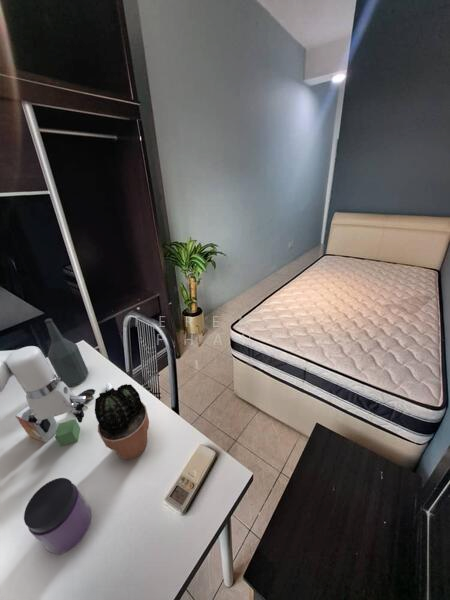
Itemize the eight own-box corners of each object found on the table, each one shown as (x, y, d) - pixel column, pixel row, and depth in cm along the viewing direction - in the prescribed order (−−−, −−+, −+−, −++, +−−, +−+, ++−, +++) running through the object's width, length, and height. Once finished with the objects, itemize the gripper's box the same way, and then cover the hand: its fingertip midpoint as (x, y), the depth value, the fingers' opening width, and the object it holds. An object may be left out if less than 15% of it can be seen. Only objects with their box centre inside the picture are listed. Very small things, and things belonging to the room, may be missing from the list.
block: (60, 446, 79) (54, 437, 77) (64, 432, 83) (58, 423, 81) (77, 441, 80) (72, 432, 78) (80, 428, 84) (75, 418, 82)
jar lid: (21, 541, 51) (15, 536, 50) (36, 491, 59) (32, 486, 58) (71, 522, 53) (67, 517, 52) (80, 477, 61) (77, 471, 60)
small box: (28, 436, 83) (14, 415, 78) (44, 421, 87) (31, 401, 82) (45, 443, 80) (31, 423, 75) (60, 428, 85) (48, 407, 80)
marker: (105, 386, 100) (103, 382, 99) (110, 383, 101) (109, 379, 100) (120, 415, 88) (118, 411, 87) (126, 412, 89) (124, 407, 88)
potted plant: (156, 459, 74) (137, 402, 62) (107, 475, 71) (78, 418, 59) (154, 420, 85) (138, 366, 74) (112, 432, 82) (89, 378, 70)
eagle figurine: (86, 416, 87) (101, 393, 94) (68, 406, 84) (85, 382, 91) (76, 418, 91) (91, 396, 98) (59, 409, 88) (76, 386, 95)
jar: (39, 562, 55) (15, 540, 50) (52, 510, 64) (33, 486, 58) (88, 543, 58) (70, 520, 52) (94, 495, 66) (79, 471, 61)
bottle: (85, 366, 111) (60, 309, 97) (92, 377, 105) (66, 318, 91) (59, 378, 105) (29, 320, 91) (65, 391, 99) (33, 330, 85)
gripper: (77, 368, 76) (95, 405, 84) (12, 384, 71) (38, 422, 80) (72, 386, 69) (92, 424, 77) (0, 405, 65) (30, 443, 73)
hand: (65, 423), depth 79 cm, fingers open, 9 cm apart
